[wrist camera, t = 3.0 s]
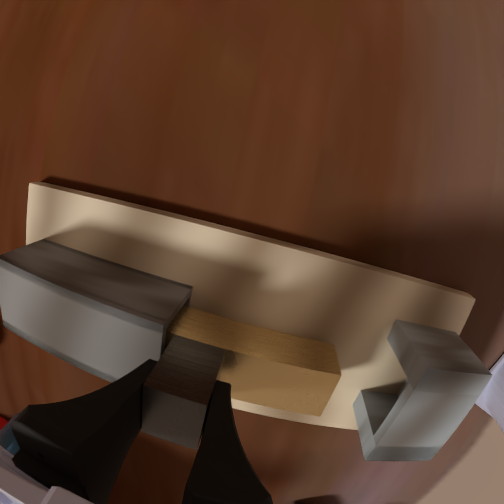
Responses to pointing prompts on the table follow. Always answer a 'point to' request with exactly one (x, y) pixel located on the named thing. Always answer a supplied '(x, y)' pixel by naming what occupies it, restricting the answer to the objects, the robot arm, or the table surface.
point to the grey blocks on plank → (242, 311)
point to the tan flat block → (232, 373)
